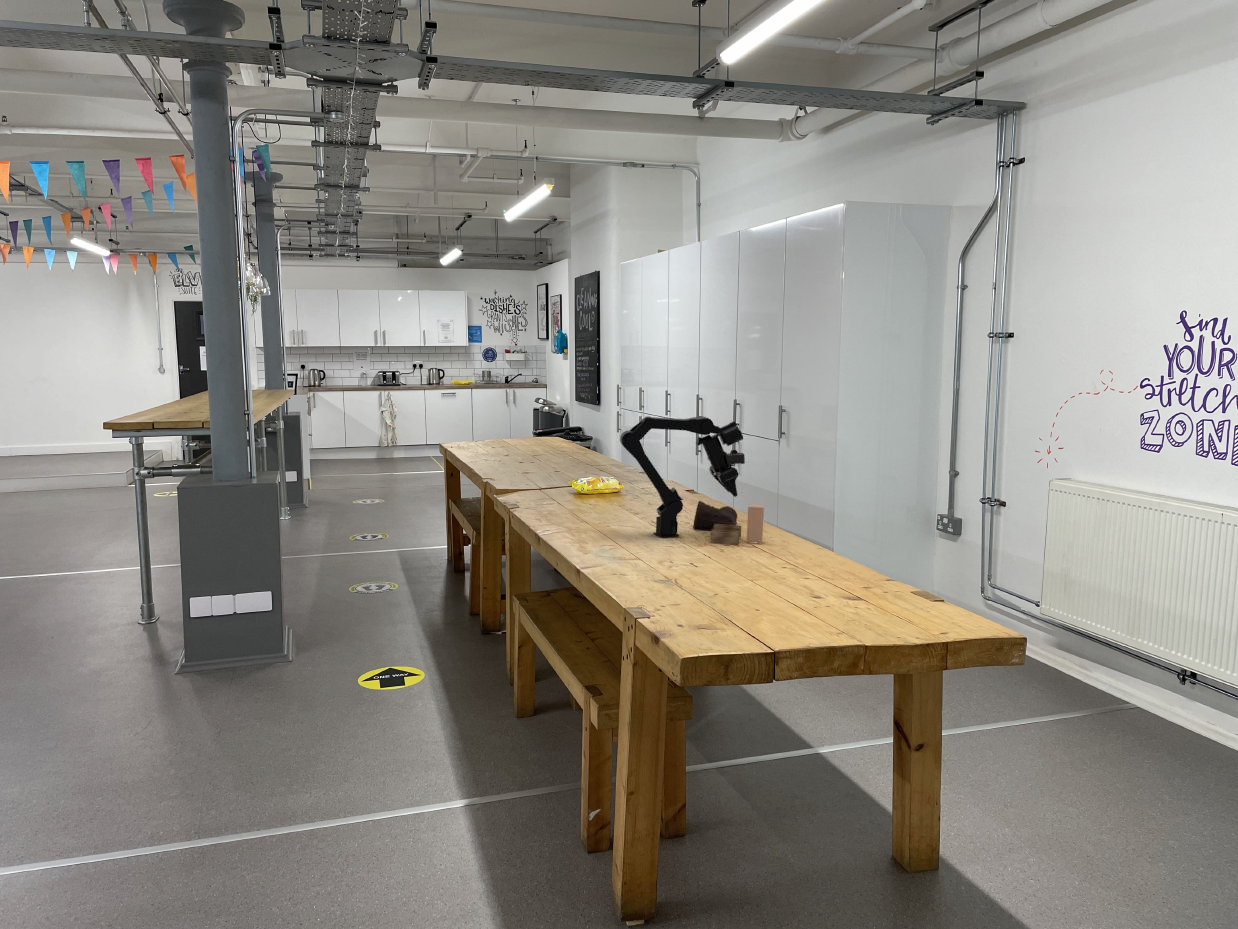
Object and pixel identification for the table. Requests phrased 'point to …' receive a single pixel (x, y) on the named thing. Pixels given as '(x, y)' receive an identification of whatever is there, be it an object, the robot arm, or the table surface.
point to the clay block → (755, 523)
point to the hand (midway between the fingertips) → (732, 493)
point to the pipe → (713, 516)
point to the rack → (725, 534)
